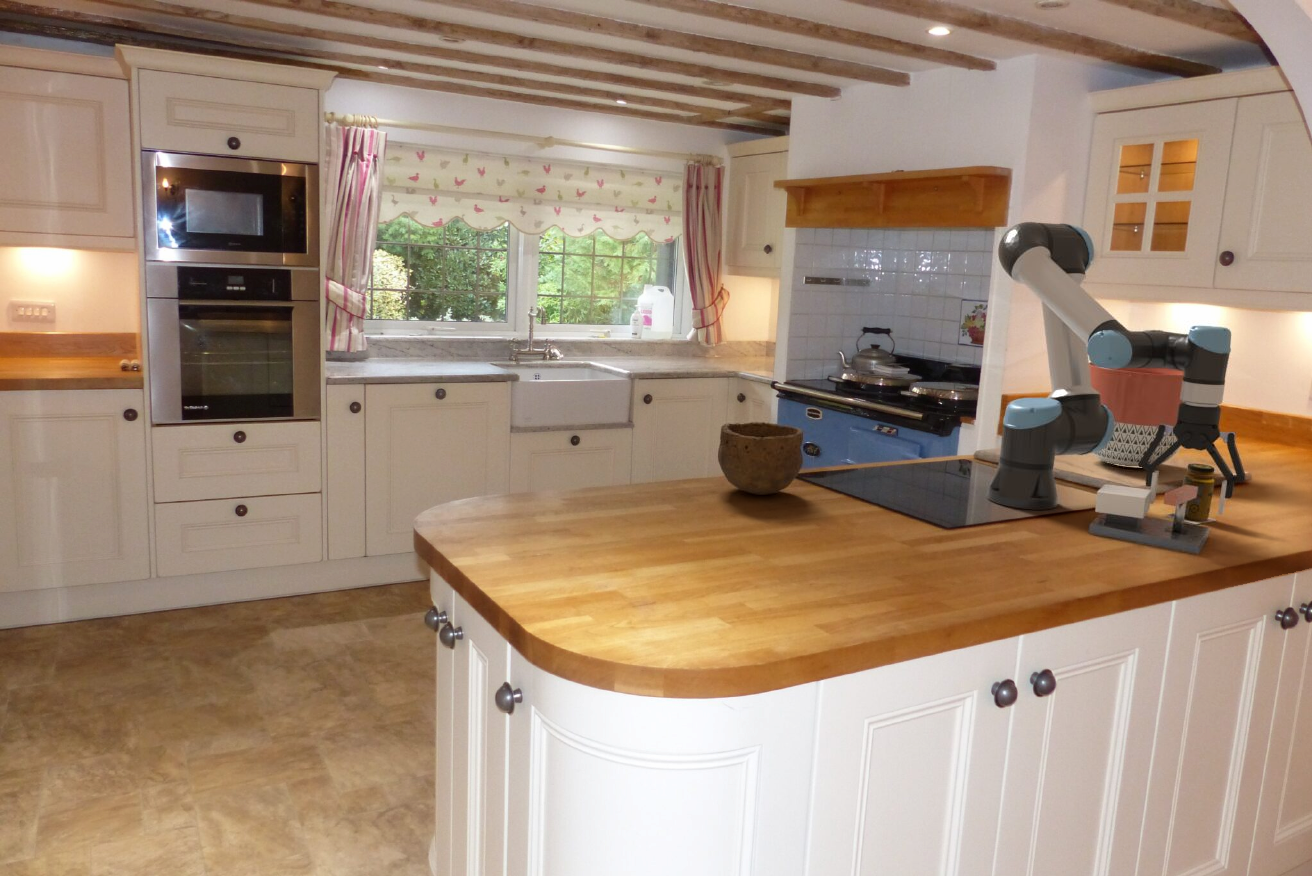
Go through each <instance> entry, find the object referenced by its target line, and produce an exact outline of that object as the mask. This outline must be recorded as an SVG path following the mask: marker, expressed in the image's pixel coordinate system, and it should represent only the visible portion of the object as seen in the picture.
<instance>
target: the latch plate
mask: <svg viewBox="0 0 1312 876" xmlns="http://www.w3.org/2000/svg"><path fill="white" fill-rule="evenodd" d="M1172 527H1173V520H1169V519H1163V518H1158V517H1151V516H1146V515H1145V516H1144V518H1136V517H1129V516H1122V515H1115V514H1108V513H1101V512H1100V514H1099V515H1098V516H1097V517H1096V518H1095V519H1093V521H1092V522H1091V523H1089V530H1088V534H1090V535H1094V536H1100V537H1104V538H1110V539H1114V540H1115V539H1116V540H1121V541H1127V542H1131V543H1135V542H1136V543H1137V544H1140V545H1145V544H1146V545H1147V546H1151V547H1157V548H1163V549H1165V550H1166V549H1167V550H1170V551H1176V550H1178V551H1177V552H1182V551H1184V552H1183V553H1188V554H1192V553H1193V555H1197V556H1198V555H1199V554H1200V551H1202V548H1203V546H1204V544H1205V542H1206V540H1207V539H1208V537H1209V532H1210V527H1207V526H1201V525H1198V524H1192V523H1188V522H1183V528H1182V531H1175V530H1172Z"/></svg>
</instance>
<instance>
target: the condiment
mask: <svg viewBox="0 0 1312 876" xmlns="http://www.w3.org/2000/svg"><path fill="white" fill-rule="evenodd" d="M1186 469H1187V470H1186V472H1185V473H1186V474H1185V475H1184V477H1183V481H1182V486H1184V485H1190V486H1196V487H1198V490H1197V496H1196V498H1194V499H1191V500H1189V501H1187V503H1186V509H1185V515H1184V523H1187V524H1192V525H1198V524H1200V525H1201V524H1203V523H1204V524H1205V523H1210V522H1216V519H1215V518H1210V517H1209V516H1210V511H1211V506H1212V499H1213V492H1214V488H1215V479H1214V477H1215V467H1214V466H1212V465H1208V464H1204V463H1196V462H1195V463H1189V464H1187V468H1186ZM1182 486H1181V487H1182ZM1174 514H1175V512H1174V513H1173V512H1172V513H1169V514H1167V513H1166V514H1164V516H1165V517H1167V518H1170V519H1174Z"/></svg>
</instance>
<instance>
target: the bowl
mask: <svg viewBox="0 0 1312 876" xmlns="http://www.w3.org/2000/svg"><path fill="white" fill-rule="evenodd" d="M719 437H720V438H719V439H720V441H719V446H718V452H717V461H718V464H719V466H720V469H721V471H722V473H723V475H724V476H725V479H726V480H727V482H729V484H731V485H733V487H735V488H737V489H739V490H740V491H743V492H746V493H749V494H754V495H759V496H761V495H762V496H763V495H765V496H766V495H771V494H775V493H778V492H781V491H783V490H785V489H786V488H788V487H789V486H790V485H791V484H792V483H793V481H794V480H795V479H796V477H797V476H798V475H799V472H800V471H801V469H802V467H803V463H804V457H803V454H802V449H801V448H802V446H803V442H804V431H803V429H801V428H800V427H799V428H798V427H795V426H791V425H782V424H781V425H779V424H777V423H771V422H770V423H769V422H765V421H762V422H759V421H755V422H754V421H751V422H747V423H745V422H744V423H739V422H737V423H724V424H723V425H722V426H721V427H720V436H719Z"/></svg>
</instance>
